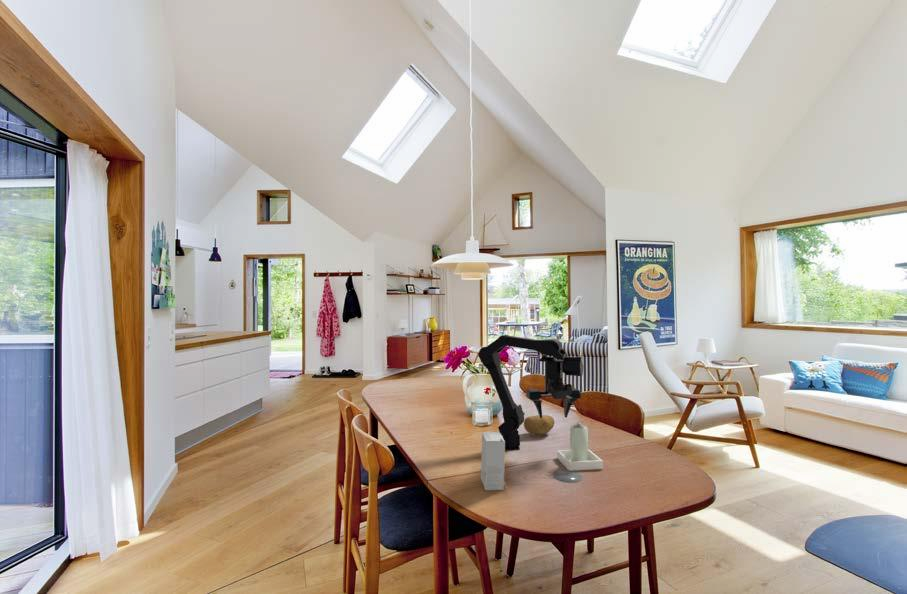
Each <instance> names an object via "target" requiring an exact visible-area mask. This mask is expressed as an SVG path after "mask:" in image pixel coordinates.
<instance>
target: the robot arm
mask: <svg viewBox="0 0 907 594" xmlns="http://www.w3.org/2000/svg"><path fill="white" fill-rule="evenodd" d="M506 347H511V348H517V349H525V350H531V351H535V352H537V353H539V354H542V357H540V359H538V361H539V362H544V376H543V379H544V388H543V389H544V391H543V390H542V391H541V390H539V389H537V388H527V389H526V391H525V397H526V398H527V399H529V400H530V401H532V402H533V403H534V405H535V408H536V411H537V413H538V415H539V416H540V418H542V415H543V409H542V402H543V401H542V397H544V398H545V397H552V399H553V400H559V399H560V400H563V408H564V409H563V413H564V415H563V416H564V418H568V415H569V412H570V409H571V407H572V405H573V403H575V401H578V400H579V399H582V392H581V391H580V390H579V389H577V388H575V387H573V386H572V384H571V383H566V384H564V381H563V378H562V373H563V374H564V376H573V377H574V376H575V377H583V374H584V365H583V359H582V356H569V354H568V353H567V352H566V351H565V350H564V348H563V343H562V342H561V341H560V340H559V339H557V338H545V339H543V338H542V339H533V338H528V337H520V336H513V335H508V334H502V335H499V336H498V337H497V339H495V340H493V342H491V343H490V344H488V345H487V346H483V347H481V348H480V349H479V351H478V358H479V360H480V361H481V364H482V365H483V366H484V367H485V369H487V371H488V372H489V375H490V377H491V380H492V383H493V386H494V388H495V391H496V392H497V393H496V394H497V395H498V398H499V401H500V403H501V408H502V418H503V422H502V423H501V424H500V425H499V426H498V432H500V434H501V435H502V436H503V439H504V441H505V451H510V450H511V451H513V450H520V449H521V448H520V446H521V435H520V433H519V430H518V429H520V426H521V425H522V424H524V420H525V415H526V414H525V412H524V410H523V407H522V404H519V405H517V404H516V402H515V401H514V399H513V398H514V397H512V394H511V391H510V388H509V386H508V383H507V381H506V378H505V376H504V373H503V371H502V369H501V363H500V362H501V358H500V353H501V352H502V351H503V350H504V349H505V348H506Z"/></svg>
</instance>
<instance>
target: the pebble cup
mask: <svg viewBox="0 0 907 594" xmlns="http://www.w3.org/2000/svg"><path fill="white" fill-rule="evenodd" d="M569 428H570V429H569V432H570V433H569V434H570V439H569V440H570V441H569V443H570V445H569V447H570V449H569V450H570V462H571V461H588V447H589V446H588V444H589V437H588V436H589V435H588V434H589V433H588V432H589V429H588V428H589V427H587V426H586V425H582V424H581V422H577V423H576V424H573V425H571V426H570V427H569Z"/></svg>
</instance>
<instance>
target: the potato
mask: <svg viewBox="0 0 907 594" xmlns="http://www.w3.org/2000/svg"><path fill="white" fill-rule="evenodd" d="M554 426H555V420H554V417H553V416H551V415H548V414H544V415H543V414H542V418H540V416H539V414H538V415H530V416H527V417H524V422H523V427H524V430H525V431H526V432H527V433H528V434H531V435H533V436H537V437H538V436H540V437H542V436H545V435H546V434H548V433H549V432H550V431H551V430H552V429H553V428H554Z"/></svg>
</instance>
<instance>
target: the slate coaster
mask: <svg viewBox="0 0 907 594" xmlns="http://www.w3.org/2000/svg"><path fill="white" fill-rule="evenodd" d="M552 477H553V479H555V480H557V481H558V482H562V483H566V484H575V483H579V482H582V481H583V479H584V478H583V476H582V475H581V474H580V473H577V472H574V471H569V470H568V471H567V470H561V471H556V472H554V473H553V474H552Z"/></svg>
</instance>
